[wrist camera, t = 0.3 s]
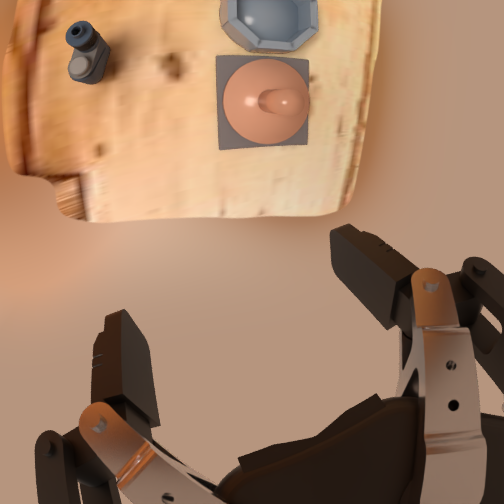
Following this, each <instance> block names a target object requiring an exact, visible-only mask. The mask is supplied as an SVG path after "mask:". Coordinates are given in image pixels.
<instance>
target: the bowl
mask: <svg viewBox="0 0 504 504" xmlns="http://www.w3.org/2000/svg"><path fill="white" fill-rule="evenodd" d="M219 17H220V22H221V27H222V29H223V30H224V31H225V33H226V34H227V35H228V36H229V38H230V39H231V40H232V41H234V42H235V43H236V44H238V45H239V46H241V47H243V48H244V49H246V50H247V51H249V52H257V53H281V54H283V53H287V52H291V51H294V50H296V49H297V48H298V47H300V46H301V45H302V44H303V43H304V42H305V41H307V40H308V39H309V38H310V37H311V36H312V35H314V34H315V33H316V32H317V31H318V7H317V0H221V5H220V10H219Z"/></svg>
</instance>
